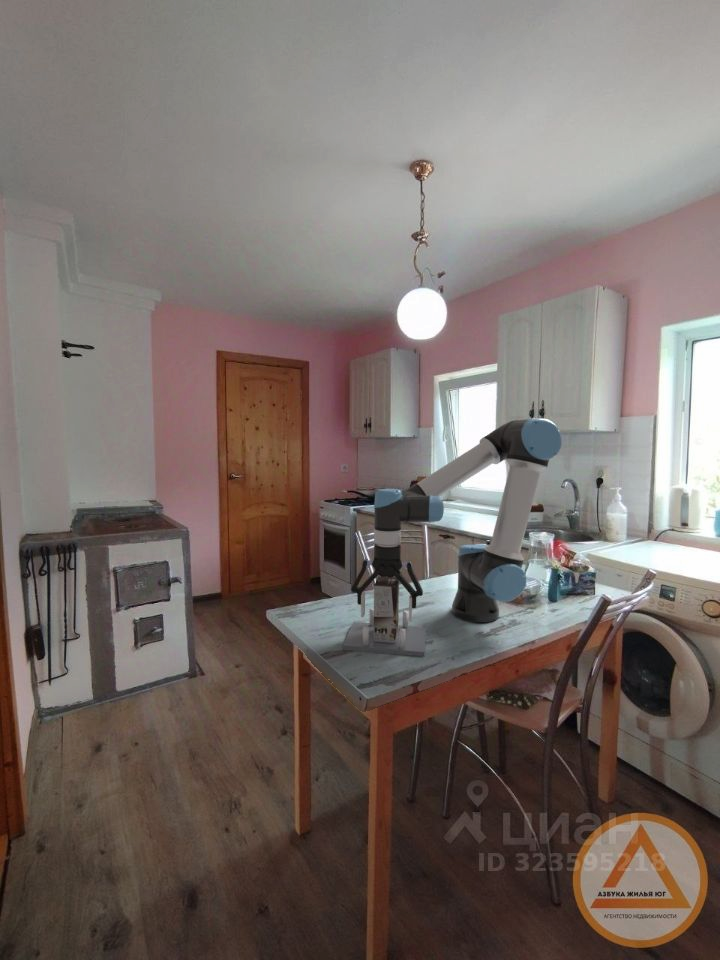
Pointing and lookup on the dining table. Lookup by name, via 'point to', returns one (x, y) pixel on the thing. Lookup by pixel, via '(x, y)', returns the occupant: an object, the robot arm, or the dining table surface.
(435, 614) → the dining table surface
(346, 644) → the grey pegged base plate
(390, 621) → the coffee box
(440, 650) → the dining table surface
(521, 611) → the dining table surface
